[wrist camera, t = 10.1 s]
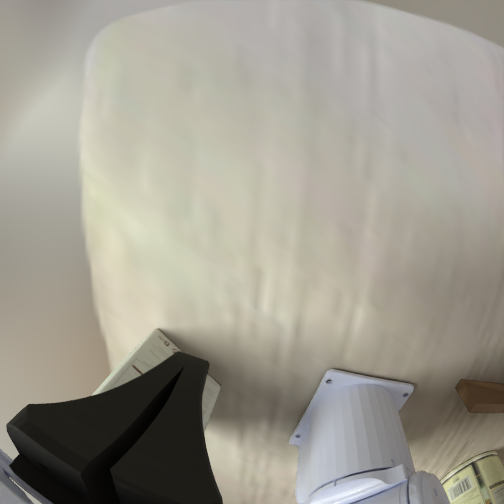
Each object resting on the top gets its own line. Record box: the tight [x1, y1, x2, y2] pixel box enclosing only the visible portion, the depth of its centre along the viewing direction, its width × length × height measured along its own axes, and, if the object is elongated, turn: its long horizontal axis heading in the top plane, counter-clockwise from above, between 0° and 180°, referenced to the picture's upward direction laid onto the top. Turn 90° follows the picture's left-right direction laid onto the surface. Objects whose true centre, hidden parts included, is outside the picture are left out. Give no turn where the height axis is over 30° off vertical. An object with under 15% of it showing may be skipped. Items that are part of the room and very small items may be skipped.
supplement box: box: [92, 329, 221, 432], centre depth 17 cm, size 7×7×13 cm
